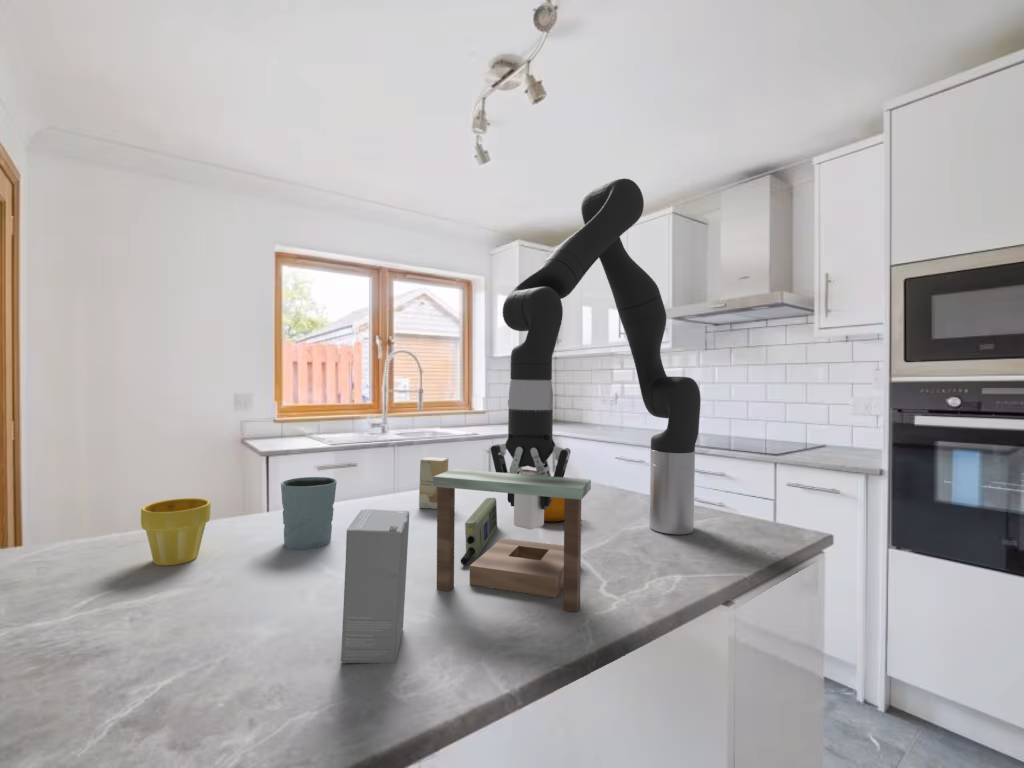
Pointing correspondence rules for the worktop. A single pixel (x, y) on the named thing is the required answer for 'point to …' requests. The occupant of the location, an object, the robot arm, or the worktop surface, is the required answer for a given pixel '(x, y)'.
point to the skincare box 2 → (430, 480)
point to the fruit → (555, 510)
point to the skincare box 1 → (374, 586)
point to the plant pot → (175, 528)
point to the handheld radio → (480, 528)
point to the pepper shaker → (528, 508)
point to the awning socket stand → (515, 559)
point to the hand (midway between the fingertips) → (529, 506)
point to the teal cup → (308, 511)
